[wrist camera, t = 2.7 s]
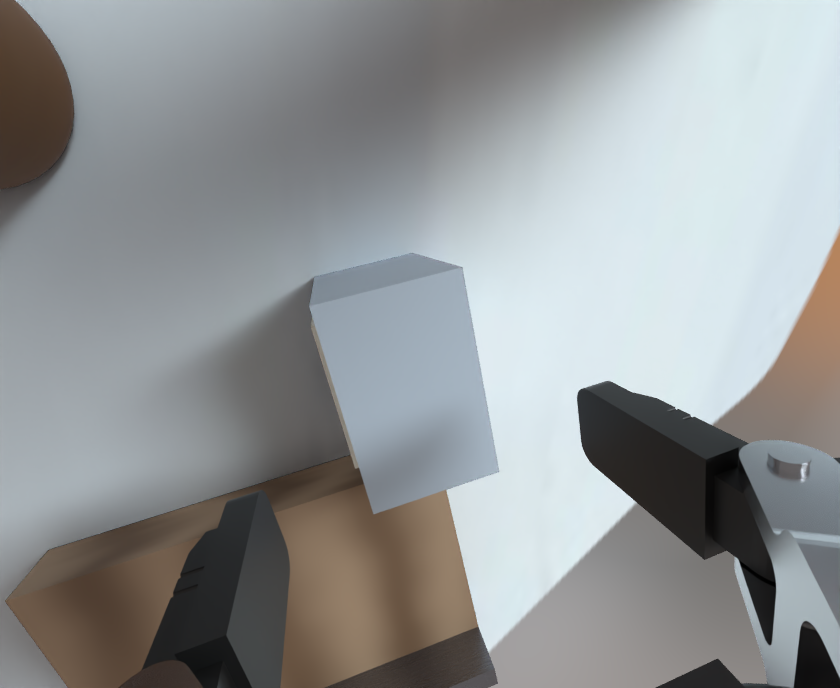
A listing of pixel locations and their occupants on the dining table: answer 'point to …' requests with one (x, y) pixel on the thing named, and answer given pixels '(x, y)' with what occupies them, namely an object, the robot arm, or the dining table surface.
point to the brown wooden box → (307, 596)
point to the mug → (30, 99)
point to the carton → (404, 376)
